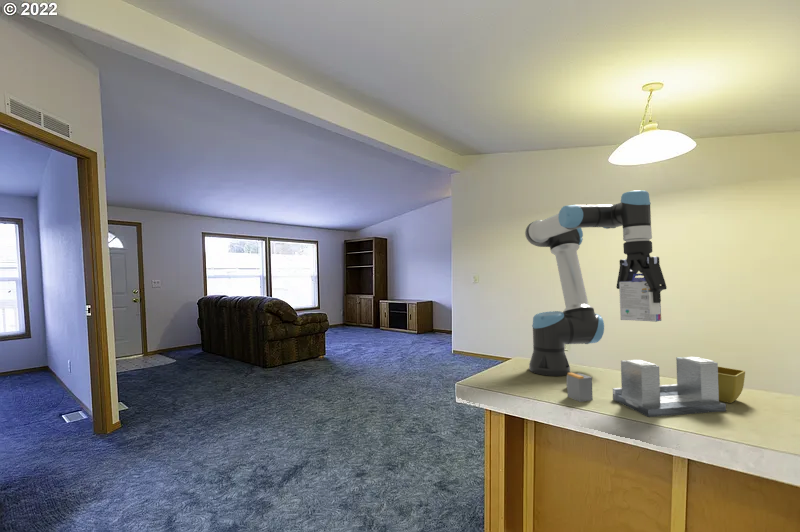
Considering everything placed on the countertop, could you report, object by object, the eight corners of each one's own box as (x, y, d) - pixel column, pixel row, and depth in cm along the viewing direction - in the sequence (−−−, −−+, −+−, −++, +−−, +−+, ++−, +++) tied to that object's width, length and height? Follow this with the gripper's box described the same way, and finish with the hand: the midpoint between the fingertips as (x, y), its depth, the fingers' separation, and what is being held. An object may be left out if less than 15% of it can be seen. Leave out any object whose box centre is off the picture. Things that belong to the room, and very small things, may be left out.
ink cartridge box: (662, 320, 113) (659, 272, 113) (657, 322, 109) (655, 272, 110) (625, 318, 120) (623, 273, 121) (620, 320, 116) (617, 273, 117)
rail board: (612, 399, 116) (611, 356, 116) (682, 394, 119) (680, 352, 119) (648, 417, 102) (646, 367, 102) (726, 411, 105) (724, 363, 105)
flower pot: (736, 407, 108) (735, 375, 108) (699, 398, 115) (699, 369, 115) (746, 400, 112) (745, 370, 113) (710, 393, 120) (709, 365, 120)
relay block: (567, 396, 119) (567, 372, 119) (580, 395, 120) (579, 371, 121) (579, 402, 114) (578, 377, 114) (592, 400, 116) (591, 375, 116)
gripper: (602, 245, 127) (605, 310, 126) (654, 236, 104) (659, 316, 103) (622, 244, 127) (626, 309, 126) (679, 236, 105) (684, 315, 104)
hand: (640, 312), depth 115 cm, fingers closed on ink cartridge box, 10 cm apart
